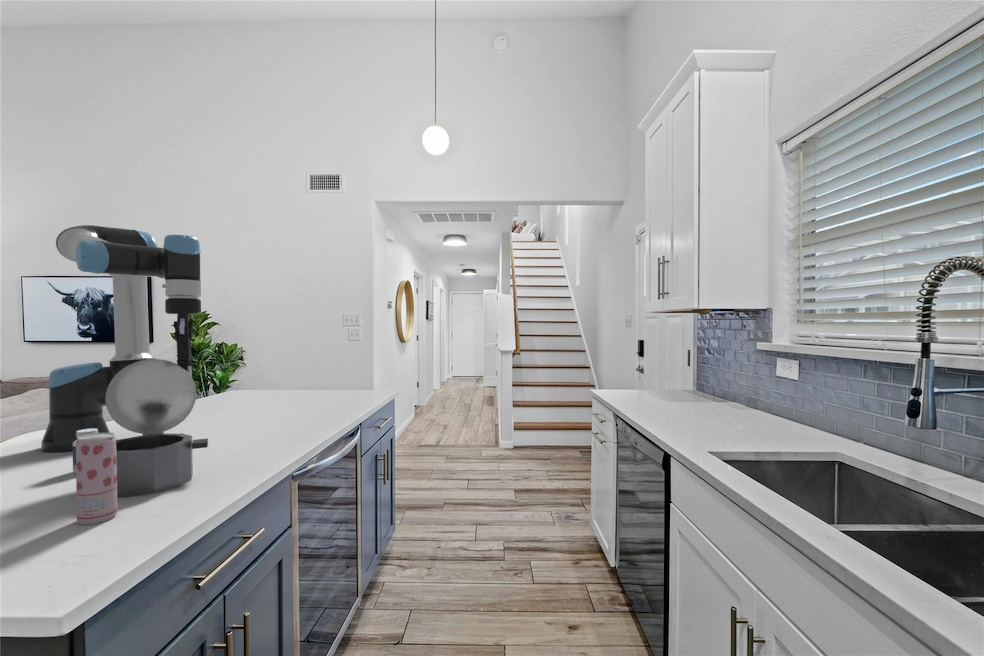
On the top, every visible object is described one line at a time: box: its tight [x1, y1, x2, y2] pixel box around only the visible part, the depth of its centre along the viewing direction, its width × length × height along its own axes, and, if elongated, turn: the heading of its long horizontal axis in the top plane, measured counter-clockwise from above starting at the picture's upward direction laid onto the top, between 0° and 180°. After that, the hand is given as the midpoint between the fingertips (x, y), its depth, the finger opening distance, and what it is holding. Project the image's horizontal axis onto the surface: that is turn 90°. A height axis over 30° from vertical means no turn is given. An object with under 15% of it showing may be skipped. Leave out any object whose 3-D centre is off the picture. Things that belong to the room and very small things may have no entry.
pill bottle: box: [72, 429, 98, 474], centre depth 115 cm, size 5×5×10 cm
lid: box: [105, 358, 197, 436], centre depth 115 cm, size 18×18×3 cm
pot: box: [116, 433, 209, 498], centre depth 106 cm, size 17×23×9 cm
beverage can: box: [75, 432, 119, 526], centre depth 87 cm, size 6×6×15 cm
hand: (185, 392), depth 121 cm, fingers closed
